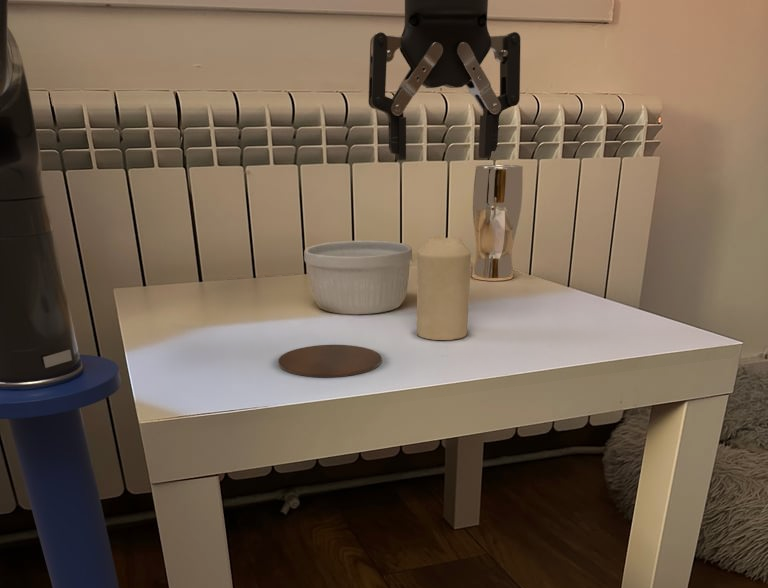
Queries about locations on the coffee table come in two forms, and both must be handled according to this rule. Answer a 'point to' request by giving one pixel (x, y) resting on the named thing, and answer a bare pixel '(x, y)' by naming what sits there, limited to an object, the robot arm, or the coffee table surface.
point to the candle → (443, 289)
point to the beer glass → (496, 219)
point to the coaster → (329, 360)
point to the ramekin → (358, 275)
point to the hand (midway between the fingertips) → (442, 159)
